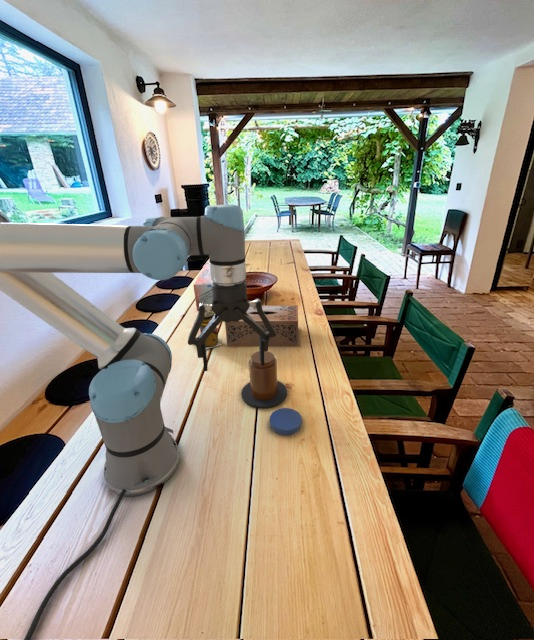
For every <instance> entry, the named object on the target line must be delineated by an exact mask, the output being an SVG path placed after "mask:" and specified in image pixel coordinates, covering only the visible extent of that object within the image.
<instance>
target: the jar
mask: <svg viewBox="0 0 534 640" xmlns="http://www.w3.org/2000/svg"><path fill="white" fill-rule="evenodd" d="M248 370H249V373H248V374H249V383H250V387H251V395H252V396H253V397H254V398H256V399H258V400H269V399H272V398H273V397H275V396H276V395H277V392H278V387H277V381H278V360H277V359H276V356H275V354H274V353H273V352H271V351H269V350H268V351H264V365H261V362H260V353H259V351H256V352H254V353H252V354H251V355H250V359H249V360H248Z"/></svg>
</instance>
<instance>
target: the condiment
mask: <svg viewBox="0 0 534 640" xmlns="http://www.w3.org/2000/svg"><path fill="white" fill-rule="evenodd" d="M214 315H215V313H214V312H213V311H209V312H208V314H205V316H204V319H203V322H202V324H201V326H200V329H199V331H200V333H201V332H202V331H203V330H204V329H205V327H206V326H207V325H208V324H209V322H210V321H211V320H212V318H213V316H214ZM222 345H223V343H222V342H220V340H219V336H218V326H216V328H215V329H214V330H213V331H212V333H211V334H210V335H209V336H208V338H207V339H206V340H205V346H206V350H209V349H212V348H214V347H218V346H222Z"/></svg>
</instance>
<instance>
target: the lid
mask: <svg viewBox="0 0 534 640" xmlns="http://www.w3.org/2000/svg"><path fill="white" fill-rule="evenodd" d="M302 425H303V418H302V415H301V414H300V412H299V411H298V410H296V409H294V408H290V407H282V408H278V409H275V410H274V411H273V412H272V413H271V414H270V416H269V427H270V430H272V431H273V432H274V433H275V434H277V435H280V436H284V437H286V436H287V437H288V436H292V435H296V434H298V432H299V431H301V429H302V427H303V426H302Z"/></svg>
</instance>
